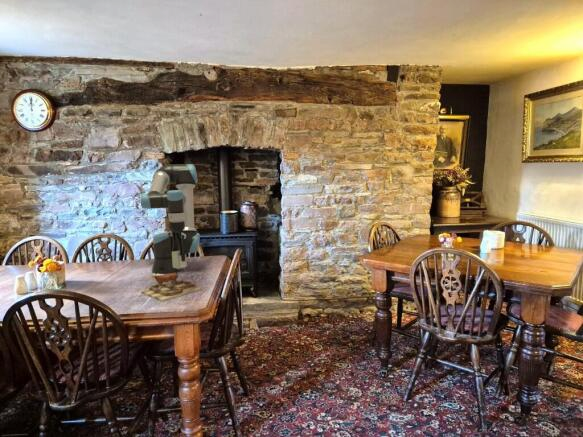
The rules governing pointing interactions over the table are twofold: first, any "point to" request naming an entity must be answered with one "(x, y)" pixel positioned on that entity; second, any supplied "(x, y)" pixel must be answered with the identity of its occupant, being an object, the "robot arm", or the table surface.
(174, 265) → the sage-green tail block
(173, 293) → the beech board
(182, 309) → the table surface
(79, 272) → the table surface
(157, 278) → the bull figurine
